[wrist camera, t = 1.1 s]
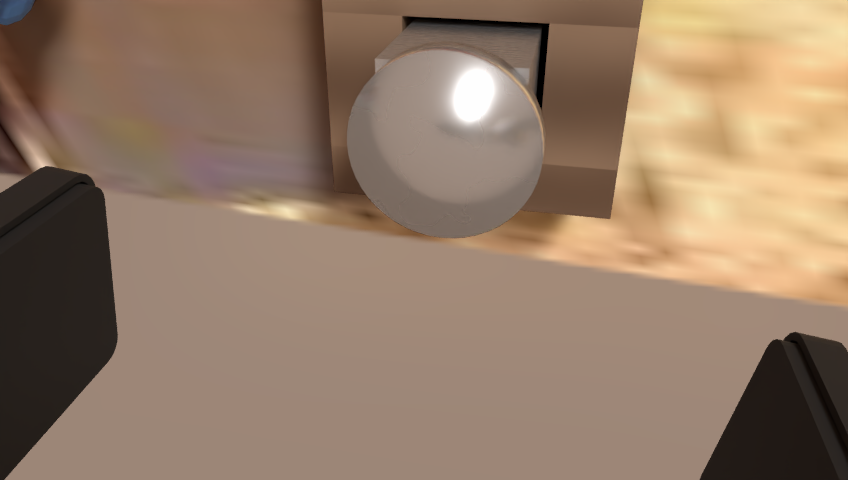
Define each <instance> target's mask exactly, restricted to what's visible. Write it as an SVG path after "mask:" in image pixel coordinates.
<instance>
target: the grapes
mask: <svg viewBox="0 0 848 480" xmlns="http://www.w3.org/2000/svg"><path fill="white" fill-rule="evenodd" d="M34 2H35V0H0V24H3V25H9V24H12V23H14V22H17V21H20V20H22V19H23V18H24V16H25V15H26V14H27V13H28V12H29V11H30V10H31V9H32V6H33V4H34Z"/></svg>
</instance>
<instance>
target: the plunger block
mask: <svg viewBox="0 0 848 480" xmlns="http://www.w3.org/2000/svg"><path fill="white" fill-rule="evenodd" d="M642 6H643V0H322V10H323V25H324V41H325V56H326V71H327V87H328V102H329V118H330V133H331V148H332V164H333V179H334V192H343V193H353V194H363V195H366V194H365V192H364V191H363V189H362V188H361V186H360V184H359V183H358V181H357V179H356V177H355V174H354V172H353V169H352V167H351V163H350V159H349V155H348V147H347V128H348V122H349V117H350V114H351V110H352V107H353V105H354V103H355V101H356V98H357V96H358V95H359V93H360V92H361V90H362V89H363V87H364V86H365V85H366V84H367V82H368V81H369V80H370V79H371V78H372V77H373V76H374V75H375V58H376V57H377V56H378V55H379V54H380V53H381V52H382V51H383V50H384V49H385V48H386V47H387V46H388V45H389V44H390V43H391V42H392V41H393V40H394V39H395V38H396V37H397V36H398V35H399V34H400V33H401V32H403V31H404V30H405V29H406V28H407V27H408V26H409V25H410V24H411V23H412V22H413V21H414V20H415V19H431V20H433V18H453V19H472V20H492V21H511V22H530V23H550V25H549V36H548V47H547V58H546V69H545V80H544V91H543V102H542V115H543V119H544V125H545V149H544V155H543V161H542V167H541V172H540V175H539V179H538V182H537V184H536V186H535V188H534V191H533V193H532V194H531V196H530V197H529V199H528V200H527V202H526V203H525V205H524V206H523V207H522V208H521V209H520V210H524V211H534V212H544V213H555V214H565V215H575V216H585V217H595V218H605V219H610V216H611V210H612V203H613V197H614V190H615V183H616V177H617V170H618V164H619V157H620V150H621V144H622V137H623V131H624V124H625V118H626V111H627V104H628V98H629V91H630V85H631V78H632V71H633V65H634V58H635V52H636V45H637V39H638V32H639V25H640V19H641V12H642Z"/></svg>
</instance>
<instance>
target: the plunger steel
mask: <svg viewBox="0 0 848 480" xmlns="http://www.w3.org/2000/svg"><path fill="white" fill-rule="evenodd" d="M541 37H542V25H527V24H508V23H489V22H470V21H450V20H431V19H415V20H414V21H413V22H412V23H411V24H410V25H409V26H408V27H407V28H406V29H405V30H404V31H403V32H401V33H400V34H399V35H398V36H397V37H396V38H395V39H394V40H393V41H392V42H391V43H390V44H389V45H388V46H387V47H386V48H385V49H384V50H383V51H382V52H381V53H380V54H379V55H378V56H377V57H376V58H375V75H374V76H373V77H372V78H371V79H370V80H369V81H368V82H367V84H366V85H365V86H364V87H363V89H362V90H361V92H360V93H359V95H358V96H357V98H356V101H355V103H354V105H353V107H352V110H351V114H350V117H349V122H348V128H347V147H348V155H349V159H350V163H351V167H352V169H353V172H354V174H355V177H356V179H357V181H358V183H359V184H360V186H361V188H362V189H363V191H364V192H365V194H366V195H367V197H368V198H369V199H370V200H371V201H372V202H373V204H374V205H375V206H376V207H377V208H378V209H379V210H381V211H382V212H383V213H384V214H385V215H386V216H388V217H389V218H391V219H392V220H394V221H395V222H397V223H398V224H400V225H402V226H404V227H406V228H408V229H410V230H413V231H415V232H418V233H421V234H425V235H428V236H434V237H440V238H463V237H469V236H475V235H479V234H482V233H485V232H488V231H490V230H492V229H494V228H496V227H498V226H500V225H502V224H503V223H505V222H506V221H508V220H509V219H510V218H512V217H513V216H514V215H515V214H516V213H517V212H518V211H519V210H520V209H521V208H522V207H523V206H524V205H525V203H526V202H527V200H528V199H529V197H530V196H531V194H532V193H533V191H534V188H535V186H536V184H537V182H538V179H539V175H540V172H541V167H542V161H543V155H544V149H545V125H544V119H543V115H542V111H541V108H540V106H539V103H538V101H537V98H536V95H537V84H538V72H539V60H540V48H541Z"/></svg>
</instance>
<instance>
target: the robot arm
mask: <svg viewBox="0 0 848 480" xmlns="http://www.w3.org/2000/svg"><path fill="white" fill-rule="evenodd" d="M116 324H117V323H116V313H115V303H114V292H113V281H112V271H111V260H110V249H109V239H108V228H107V218H106V207H105V198H104V194H103V192H102V190H101V189H100V188H98V187H95V184H94V182H93V180H92V178H91V177H89V176H88V175H86V174H82V173H77V172H73V171H68V170H64V169H59V168H55V167H49V166H45V167H43V168H40V169H38V170H37V171H35V172H34V173H32V174H30V175H29V176H27V177H26V178H24V179H22V180H21V181H19V182H18V183H16V184H14V185H13V186H11V187H9V188H8V189H6V190H5V191H3V192H1V193H0V480H4V479H5V478H6V477H7V476H8V475H9V473H11V471H12V470H13V469H14V468H15V467H16V466H17V464H18V463H19V462H20V461H21V460H22V459H23V458H24V457H25V455H26V454H27V453H28V452H29V451H30V450H31V449H32V447H33V446H34V445H35V444H36V443H37V442H38V441H39V440H40V438H41V437H42V436H43V435H44V434H45V433H46V432H47V431H48V429H49V428H50V427H51V426H52V425H53V424H54V422H55V421H56V420H57V419H58V418H59V417H60V416H61V415H62V413H63V412H64V411H65V410H66V409H67V408H68V407H69V406H70V404H71V403H72V402H73V401H74V400H75V399H76V397H77V396H78V395H79V394H80V393H81V392H82V391H83V390H84V388H85V387H86V386H87V385H88V384H89V383H90V382H91V381H92V379H93V378H94V377H95V376H96V375H97V374H98V373H99V371H100V370H101V369H102V368H103V367H104V366H105V365H106V364H107V362H108V361H109V360H110V358H111V357H112V355H113V353H114V351H115V348H116V344H117V335H118V334H117V325H116ZM700 480H848V352H847V350H846V348H845V347H844V346H843V345H842V343H840V342H837V341H833V340H828V339H824V338H819V337H815V336H810V335H806V334H801V333H797V332H793V333H790V334H789V335H788V336H787V337H785V339H784V340H783V341H782V340H778V339H776V340H773V341H772V342H771V343H770V344H769V345H768V347H767V348H766V350H765V352H764V354H763V356H762V358H761V360H760V362H759V364H758V366H757V368H756V370H755V372H754V374H753V376H752V378H751V380H750V382H749V384H748V385H747V387H746V389H745V391H744V393H743V395H742V397H741V399H740V401H739V403H738V405H737V407H736V409H735V411H734V413H733V415H732V417H731V419H730V421H729V423H728V424H727V426H726V429H725V430H724V432H723V434H722V436H721V438H720V440H719V442H718V444H717V446H716V448H715V450H714V452H713V454H712V456H711V458H710V460H709V462H708V464H707V466H706V467H705V469H704V471H703V473H702V475H701V478H700Z"/></svg>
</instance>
